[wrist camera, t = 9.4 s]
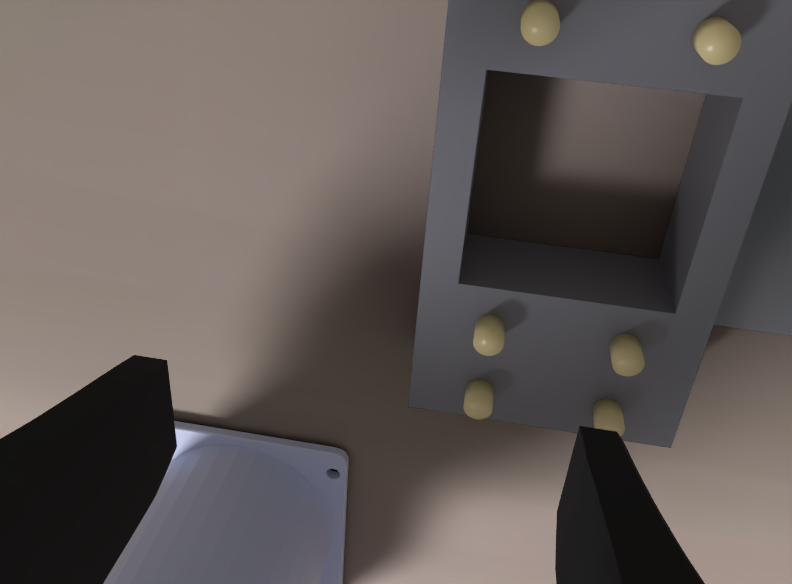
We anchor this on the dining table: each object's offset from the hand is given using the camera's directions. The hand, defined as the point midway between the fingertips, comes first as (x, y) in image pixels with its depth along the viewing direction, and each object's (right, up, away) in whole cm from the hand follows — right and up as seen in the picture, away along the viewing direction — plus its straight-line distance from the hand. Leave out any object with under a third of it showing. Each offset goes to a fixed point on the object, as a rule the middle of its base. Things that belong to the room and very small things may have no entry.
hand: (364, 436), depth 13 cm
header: (+6, +6, +8) cm, 11 cm away
